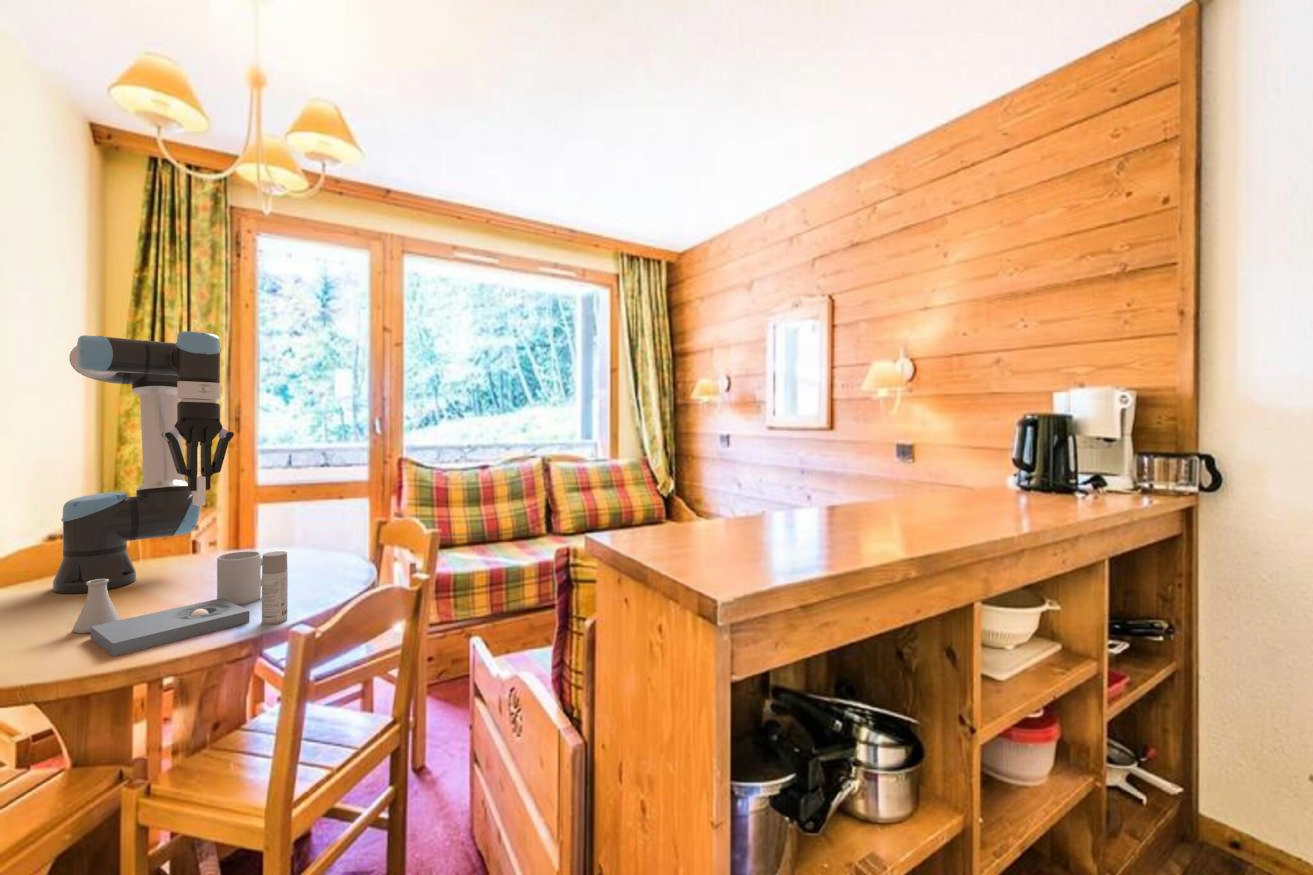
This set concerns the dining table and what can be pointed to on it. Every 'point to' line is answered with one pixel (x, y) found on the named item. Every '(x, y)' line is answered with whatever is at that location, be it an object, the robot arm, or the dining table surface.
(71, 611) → the dining table surface
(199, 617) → the plate
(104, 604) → the flask
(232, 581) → the mug
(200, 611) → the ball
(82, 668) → the dining table surface
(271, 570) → the container
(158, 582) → the dining table surface
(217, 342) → the robot arm
